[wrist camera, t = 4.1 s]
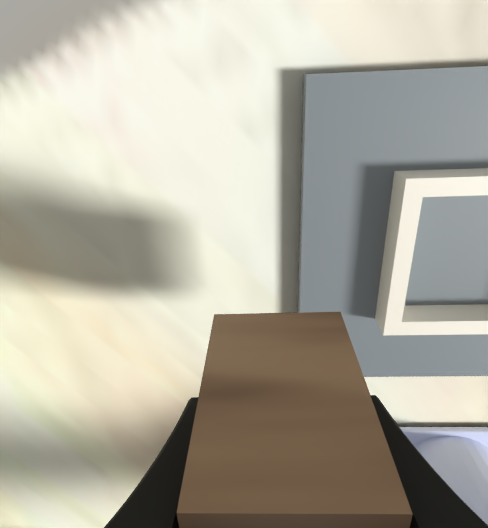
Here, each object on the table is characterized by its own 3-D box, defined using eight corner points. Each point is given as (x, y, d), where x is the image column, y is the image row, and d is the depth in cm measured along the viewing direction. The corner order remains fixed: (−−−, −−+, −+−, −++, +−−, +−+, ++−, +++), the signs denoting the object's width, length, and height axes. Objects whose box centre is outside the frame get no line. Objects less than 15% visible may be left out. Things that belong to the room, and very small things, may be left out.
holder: (567, 363, 22) (601, 395, 20) (296, 365, 23) (300, 395, 21) (696, 56, 16) (770, 52, 13) (303, 74, 16) (310, 73, 14)
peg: (333, 405, 15) (386, 630, 9) (223, 406, 16) (199, 626, 9) (340, 311, 13) (412, 514, 7) (214, 314, 14) (176, 512, 7)
